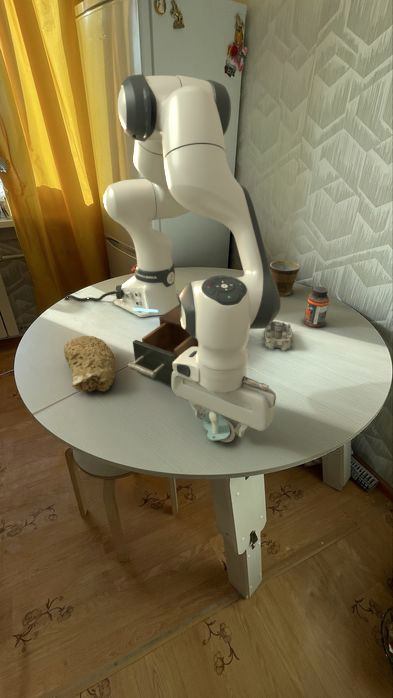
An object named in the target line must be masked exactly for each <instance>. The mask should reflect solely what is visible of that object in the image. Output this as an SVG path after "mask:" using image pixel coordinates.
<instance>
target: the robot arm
mask: <svg viewBox="0 0 393 698" xmlns="http://www.w3.org/2000/svg"><path fill="white" fill-rule="evenodd" d="M117 114H118V119H119V121H120V123H121V126H122V130H123V131H124V133H125V134H126V135H127V136H128V137H129V138H130V139H133V140H134V145H133V146H134V147H133V157H132V158H133V164H134V166H135V169H136V171H137V173H139V174H140V175H141V177H143V178H135V179H133V178H132V179H124V180H120V181H116V182H113V183H110V184H109V185H108V186H107V187H106V189H105V191H104V194H103V205H104V209H105V211H106V213H107V214H108V216H109V217H110V218H111V219H112V220H113V221H114V222H116V223H118V224H119V225H121V226H122V227H123V228H124V229H125V230H126V231H127V233H128V234H129V236H130V237H131V239H132V242H133V246H134V250H135V255H136V264H135V265H134V266H132V267H130V269H131V272H133V271H134V274H133V275H132V277H130V278H129V279H127V280H126V281H125V282H124V283H123V284H120V285H115V290H113V291H109V292H108V291H107V292H105V293H103V294H101V295H100V296H99V297H91V296H89V297H77V296H75V295H73V294H68V295H66V296H65V297H64V300H69V299H73V300H74V301H78V302H88V301H93V302H100V301H102V300H103V299H104V298H105V297H108V296H112V295H115V300H114V305H115V306H117V307H120V309H121V308H122V309H123V310H126V311H127V312H130V313H131V314H132V315H133V314H134V315H135V316H138V317H139V318H146V317H147V318H148V317H151V316H163V315H164V314H166V313H167V312H169V311H170V310H172V309H173V308H175V307H176V306H178V305H179V304H180V306H181V311H180V318H181V325H182V327H183V329H184V330H186V331H187V332H188V333H189V334H190V335H191V336H192V337H193V338H197V340H198V347H190V348H189V349H187V350H186V351H185V352H183V353H182V354H181V355H180V356H179V357H178V358H177V359H176V360H175V361H174V362H173V364H172V367H173V370H174V371H173V372H172V377H171V386H170V387H171V391H172V393H173V394H174V395H175V396H176V397H178V398H181V399H183V400H186V401H188V402H189V405H190V407H191V408H192V410H193V412H194V418H197V419H199V420H203V418H204V416H205V415H206V410H210V411H211V410H212V411H214V412H215V413H217V414H219V415H221V416H224V417H226V418H229V419H231V420H233V421H236V422H238V423H237V424H236V426H235V427H234V431H235V432H234V434H235V436H237V437H239V438H242V437H243V436H244V435H245V432H246V430H247V429H248V428H249V427H250V428H252V429H254V430H256V431H259V432H264V431H266V430H267V429H269V427H270V426H271V424H272V421H273V419H274V409H275V408H274V406H275V404H276V399H277V394H276V392H275V391H274V389H272V388H270V386H269V385H268V384H267V383H263V382H259V381H257V380H255V379H252V378H249V377H247V371H248V357H249V355H248V354H249V353H248V349H247V344H248V341H249V339H250V336H251V335H250V333H251V330H260V329H261V330H262V329H264V330H265V328H266V327H267V326H268V325H269V324H270V323H271V322H272V321H273V322H274V321H275V319H276V318H277V316H278V315H279V313H280V310H281V298H280V297H281V296H280V295H279V292H278V289H277V286H276V283H275V281H274V278H273V276H272V273H271V270H270V264H269V260H268V255H267V252H266V248H265V245H264V241H263V237H262V232H261V229H260V225H259V220H258V217H257V213H256V210H255V207H254V203H253V201H252V198H251V195H250V193H249V191H248V188H246V187H245V186H244V185H242V184H240V183H239V182H238V180H237V179H236V178H235V177H234V174H233V173H232V171H231V168H230V166H229V164H228V159H227V152H226V144H225V137H224V136H225V134H226V133H227V131H228V129H229V126H230V121H231V115H232V103H231V96H230V94H229V92H228V90H227V87H226V86H225V85H224V84H222V83H221V82H218V81H215V80H212V79H206V80H204V79H200V78H197V77H192V76H187V75H180V74H176V75H160V74H159V75H147V76H145V75H144V74H143V73H140V74H134V75H129V76H126V78H125V79H124V80H123V81H122V83H121V85H120V89H119V93H118V97H117ZM190 212H191V213H193V214H196V215H200V216H202V217H206V218H209V219H211V220H214V221H216V222H218V223H220V224H223V225H224V226H225V227H226V228H228V229H229V231H230V232H231V233H232V235H233V237H234V241H235V244H236V247H237V251H238V256H239V258H240V264H241V266H242V271H243V276H238V277H234V276H231V275H223V274H222V275H214V276H211V277H208V278H206V279H200V280H195V281H191V282H189V283H188V284H187V285H185V286H184V287H183V289H182V291H181V292H180V293H179V298H178V294H177V289H176V284H175V280H176V279H175V277H176V271H175V270H176V269H175V263H174V259H173V243H172V241H171V238H170V237H169V236H168V235H167V234H166V233H164V232H162V231H159V230H157V229H154V228H153V226H152V221H155V220H156V221H157V220H164V219H173V218H177V217H180V216H184V215H186V214H188V213H190ZM67 297H68V298H67ZM87 298H89V299H87Z"/></svg>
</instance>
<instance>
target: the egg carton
mask: <svg viewBox="0 0 393 698" xmlns="http://www.w3.org/2000/svg"><path fill="white" fill-rule="evenodd" d="M263 336H264V340H265V342H264V346H265V347H266V348H268V349H269V350H274V349H275V348H276V349H277V348H278V349H280V350H281V351H286V350H288V349H290V348H291V345H292V336H293V329H292V325H291V324H290V323H286V324H285V322H284V321H283V322H281V321H276V320H273V321H272V322H271V323H270V324H269V325H268V326H267V327H266V328H264V333H263Z"/></svg>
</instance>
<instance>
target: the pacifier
mask: <svg viewBox="0 0 393 698" xmlns="http://www.w3.org/2000/svg"><path fill="white" fill-rule="evenodd" d="M208 421H209V422H210V423H208ZM202 424H203V427H204V429H205V430H206V431H207V434H206V435H207V439H208V440H210V441H212V442H213V441H214V442H216V441H220V442H223V443H231V442H232V441H233V440H234V439H235V437H236V435H235V434H234V432H235V431H234V430H235V427H234V425H233V423H231V422H230V421H229V420H228V419H225V418H224V417H223V415H221V414H219V413H217V412H214V411H212V410H210V411H209V412H207V413H205V416H204V417H203V419H202Z"/></svg>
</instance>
